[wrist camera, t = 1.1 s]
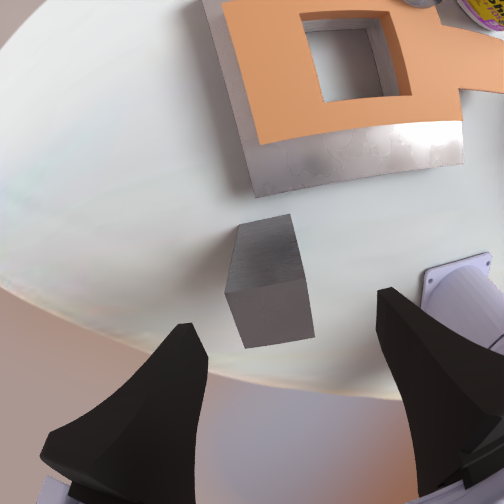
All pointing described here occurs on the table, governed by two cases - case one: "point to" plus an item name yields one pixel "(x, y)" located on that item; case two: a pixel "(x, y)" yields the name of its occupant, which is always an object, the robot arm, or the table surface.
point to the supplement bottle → (485, 12)
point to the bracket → (365, 109)
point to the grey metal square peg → (268, 284)
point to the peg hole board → (338, 142)
